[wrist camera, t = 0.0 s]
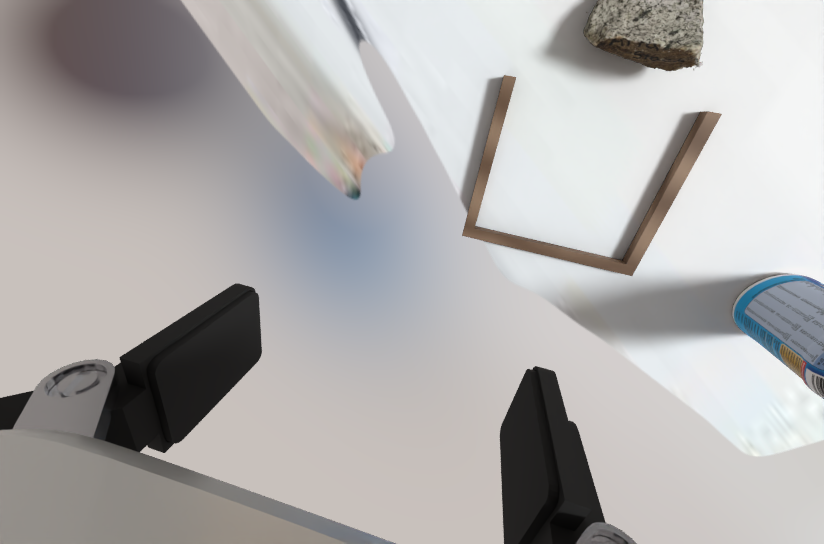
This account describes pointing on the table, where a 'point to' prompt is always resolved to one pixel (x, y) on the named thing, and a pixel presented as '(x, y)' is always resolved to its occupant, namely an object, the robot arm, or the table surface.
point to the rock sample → (649, 31)
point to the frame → (625, 266)
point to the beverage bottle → (787, 323)
